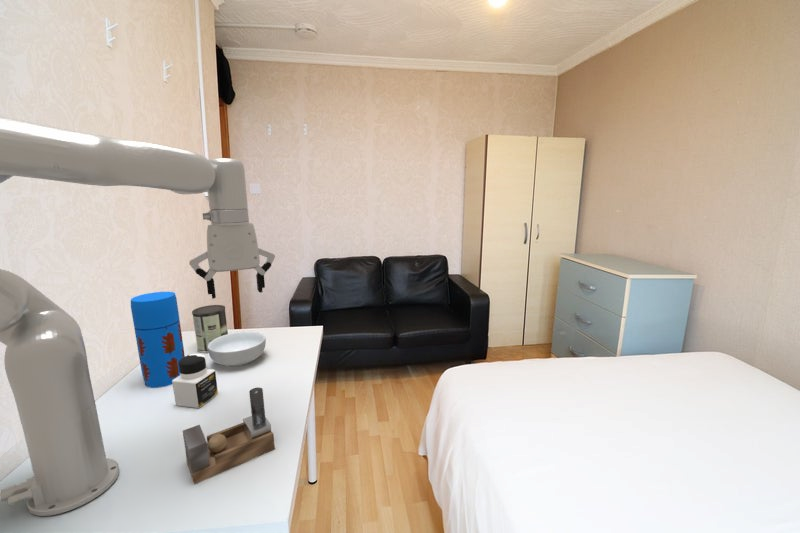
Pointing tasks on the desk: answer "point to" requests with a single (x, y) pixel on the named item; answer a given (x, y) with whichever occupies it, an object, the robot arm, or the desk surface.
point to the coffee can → (209, 325)
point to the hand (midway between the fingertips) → (237, 294)
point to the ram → (256, 416)
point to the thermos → (158, 337)
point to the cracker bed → (232, 455)
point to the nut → (217, 443)
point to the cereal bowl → (237, 348)
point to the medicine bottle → (194, 382)
